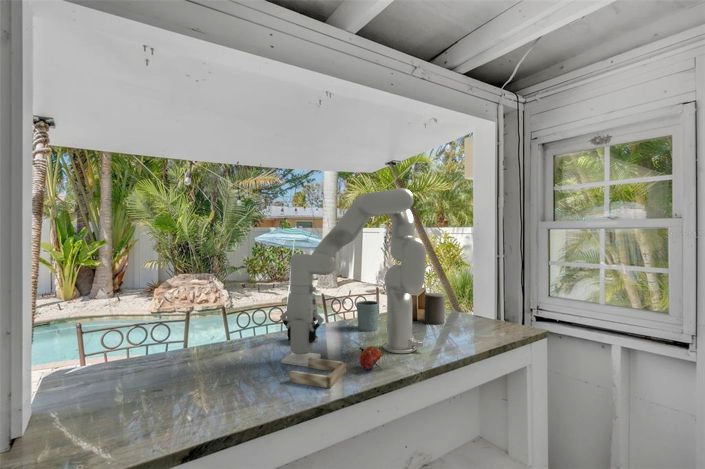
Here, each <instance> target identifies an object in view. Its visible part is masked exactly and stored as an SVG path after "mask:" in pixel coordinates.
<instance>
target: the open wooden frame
mask: <svg viewBox="0 0 705 469" xmlns="http://www.w3.org/2000/svg"><path fill="white" fill-rule="evenodd" d="M347 365H348V364H347V362H346V361H339V360H332V359H323V358H319V359H318V358H308V367H307V368H310V369H316V370H324V371H330V372H331V373H330V374H329V375H323V374H317V373H311V372H305V371H297V370H290V371H289V382H290V383H295V384H302V385H307V386H313V387H319V388H326V389H327V388H328V389H331V388H332V387H333V386H334V385H335V384H336V383H337V382H338V381H339V380H340V379H341V378H342V377H343V376H344V375H345V374H346V373H347V370H348V369H347Z"/></svg>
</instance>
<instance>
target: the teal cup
mask: <svg viewBox="0 0 705 469" xmlns="http://www.w3.org/2000/svg"><path fill="white" fill-rule="evenodd" d="M356 317H357V326H358V327H357V328H358V330H359V331H362V332H376V331H377V330H378V322H379V320H378V319H379V302H378V301H376V300H360V301H356Z"/></svg>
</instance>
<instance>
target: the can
mask: <svg viewBox="0 0 705 469" xmlns="http://www.w3.org/2000/svg"><path fill="white" fill-rule="evenodd" d="M310 331H311V330H310V328H309V324H307V323H305V322H304V320H296V319H293V321H292V322H291V340H290V351H291V352H292V353H294V354H298V355H303V354H308V353H311V351H312V350H313V342H312V343H309V332H310Z"/></svg>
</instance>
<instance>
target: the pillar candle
mask: <svg viewBox="0 0 705 469" xmlns="http://www.w3.org/2000/svg"><path fill="white" fill-rule="evenodd" d="M445 302H446V295H445V294H444V293H440V292H436V291H434V292H426V293H425V294H424V308H423V309H424V316H423V317H424V318H423V320H424V323H426V324H428V325H434V326H435V325H443V324H445V314H446V310H445V309H446V308H445V307H446V306H445V305H446V303H445Z"/></svg>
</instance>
